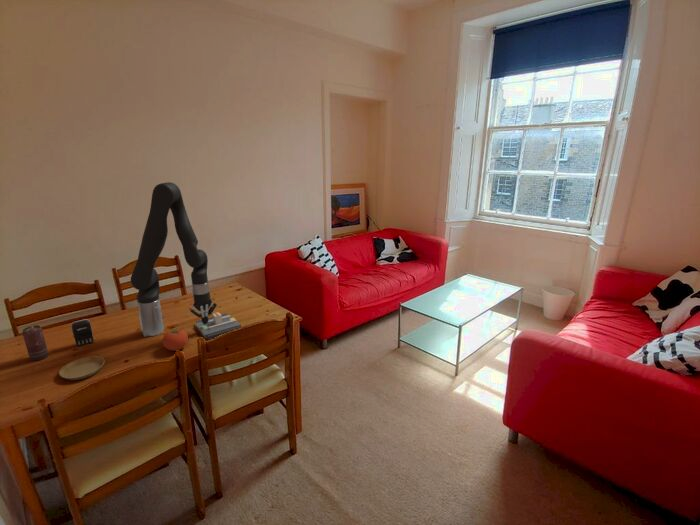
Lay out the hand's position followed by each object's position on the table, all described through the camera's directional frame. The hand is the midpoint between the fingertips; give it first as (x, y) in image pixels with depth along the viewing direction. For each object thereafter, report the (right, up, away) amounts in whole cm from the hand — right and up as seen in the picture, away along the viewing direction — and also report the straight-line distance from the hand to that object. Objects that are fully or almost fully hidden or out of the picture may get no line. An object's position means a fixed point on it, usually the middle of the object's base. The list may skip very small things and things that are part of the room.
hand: (205, 323), depth 174 cm
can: (-61, -11, -24) cm, 67 cm away
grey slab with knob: (+5, -3, +5) cm, 8 cm away
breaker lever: (+5, -1, +4) cm, 6 cm away
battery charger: (-50, -7, -13) cm, 52 cm away
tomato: (-7, -9, -15) cm, 19 cm away
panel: (+5, -3, +5) cm, 8 cm away
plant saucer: (-36, -14, -32) cm, 50 cm away
